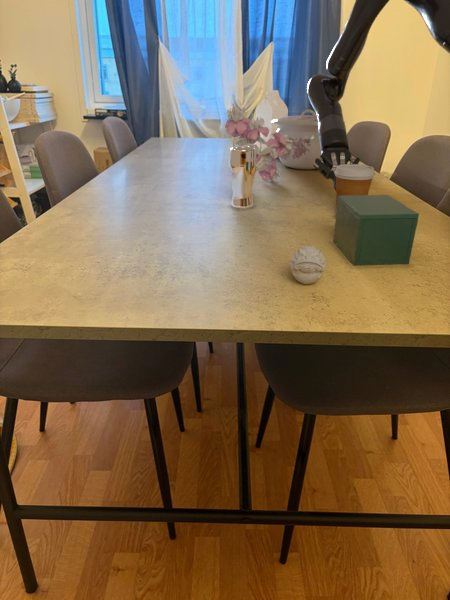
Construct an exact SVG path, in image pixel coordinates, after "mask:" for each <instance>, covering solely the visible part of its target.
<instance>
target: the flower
mask: <svg viewBox="0 0 450 600" xmlns="http://www.w3.org/2000/svg"><path fill="white" fill-rule="evenodd" d="M245 114H246V108H245V107H242V109H241V110H240V107H238V106H236V105H235V103H232V108H229V109H227V110H226V115H227V118H228V119H227V120H226V121H225V124H224V127H225V129H226V133H227V134H229V135H231V136H232V137H233V139H232V147H236V145H238V147H254V148H256V171H258V175H259V176H260V177H261V180H263V181H273V182H276V181H277V178H280V176H281V173H280V171H281V168H279V167H277V162H276V160H277V158H279V157H280V158H281V157H282V156H283V155H284V154H286V153H288V152H287V150H291V149H292V147H291V145H292V144H291V143H292V140H289V139H286V137H287V136H288V135H283V136H281V134H280V133H279V132H273V133H272V134H271V135H273V136H274V137H275V139H271V138H270V139H269V140H268V141H267V142H266V141H264V140H263V139H262V138H261V137H260V132H261V133H262V134H263V135H264V136H265V137H267V136H268V134H269V129H268V127H262V126H263V124H264V123H265V122H264V119H262V118H261V117H260V120H259V119H258V117H257V118H256V120H255V118H254V113H251V116H252V119H249V118H247V117H245ZM256 141H258V142H260V150H259V148H258V147H257V145H256V144H255V145H254V143H256ZM286 142H289V143H286ZM261 143H262V144H266V145H267V147H266V148H265V149H264V150H263V151H262V152H261ZM275 148H276V149H275ZM273 149H275V151H274V150H273ZM266 155H269V157H271V158H272V159H275V160H270V159H263V160H262V156H266Z"/></svg>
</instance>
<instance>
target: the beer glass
mask: <svg viewBox="0 0 450 600" xmlns="http://www.w3.org/2000/svg"><path fill="white" fill-rule="evenodd" d="M229 153H230V154H229V174H230V175H229V176H230V182H231V189H232V197H231V202H230V203H231V204H230V205H231V207H232V208H235V209H250V208H252V207H254V200H253V188H254V183H255V179H256V171H257V170H256V167H257V165H256V160H257V159H256V148H254V147H241V146H234V147H233V146H232V147H230V152H229Z"/></svg>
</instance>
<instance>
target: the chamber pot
mask: <svg viewBox="0 0 450 600" xmlns="http://www.w3.org/2000/svg"><path fill="white" fill-rule="evenodd" d="M307 113H310V114H307ZM271 122H272V123H274V124H276V125H277V131H276V132H279V133H280V134H281V136H283V135H288V136H287V137H286V139H289V140H292V143H291V144H292V145H291V147H292V149H291V150H287V152H288V153H286V154H284V155H283V156H282V157H281V158H280V157H278V160H279V161H280V162H281V164H282V165H283V166H285V167H287V168H289V169H294V170H302V171H303V170H304V171H311V170H317V169H316V168H315V167H314V166H313V164H314V162H315V159H316V158H318V159H319V158H320V156H321V150H320V142H319V138H318V120H317V114H316V113H315V111H314V110H312V109H310V108H309V109H305V110H303V111H302V112H301V114H296V115H288V116H286V117H281V118H277V119H274V120H272V121H271ZM344 123H345V124H346V121H345V120H344ZM274 139H275V137H274ZM286 143H289V142H286ZM275 149H276V148H275Z"/></svg>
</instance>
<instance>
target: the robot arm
mask: <svg viewBox="0 0 450 600" xmlns="http://www.w3.org/2000/svg"><path fill="white" fill-rule="evenodd" d="M403 1H404V2H405V3H407V4H408V5H410V6H411V7H412V8H413V9H414V10H416V12H417V13H418V14H419V15H420V16H421V18H422V20H423V22H424V24H425V26H426V28H427V30H428V32H429V33H430V35H431V37H432V39H433V40H434V41H435V43H436V44H438V45H439V46H440V47H441V48H442V49H443V50H445V51H446V52H447V53H448V54H449V55H450V0H403ZM389 2H390V0H355V1H354V4H353V6H352V9H351V11H350V14H349V16H348V18H347V22H345V23H346V24H345V25H344V27H343V29H342V32H341V33H340V36H339V37H338V40H337V41H336V43H335V45H334V47H333V49H332V51H331V52H330V54H329V56H328V58H327V60H326V70H327V71H328V73H329V74H330V75H327V74H322V73H317V74H313V76H311V77H310V79H309V81H308V83H307V86H306V87H307V88H306V89H307V91H306V92H307V96H308V100H309V102H310V104H311V106H312V109H313V111H314V112H315V113H316V115H317V120H318V138H319V142H320V150H321V156H320V158H319V159H318V158H316V159H315V162H314V164H313V166H314V167H315V168H316V169H315V170H316V171H317V172H319V173H320V174H321V176H323V177H324V178H325V179H326V180H329V179H330V180H332V184H333V190H334V191H336V176H335V173H334V172H335V171H336V169H337V166H339V165H344V164H359V163H360V161H361V158H359V157H356V158H355V157H353V155H352V153H351V152H350V151H351V150H350V148H349V147H350V145H349V140H348V133H347V128H346V122H345V123H344V121H345V120H344V114H343V109H342V108H343V107H342V105H341V103H340V101H341V100H342V98H343V97H344V94H345V90H346V86H347V83H348V79H349V77H350V74H351V72H352V70H353V68H354V66H355V64H356V63H357V61H358V60H359V58H360V56H361V54H362V52H363V50H364V49H365V46H366V42H367V39H368V35H369V33H370V30H371V28H372V26H373V24H374V22H375V20H376V19H377V18H378V16H379V15H380V13H381V12H382V10H384V7H386V5H388V3H389Z"/></svg>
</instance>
